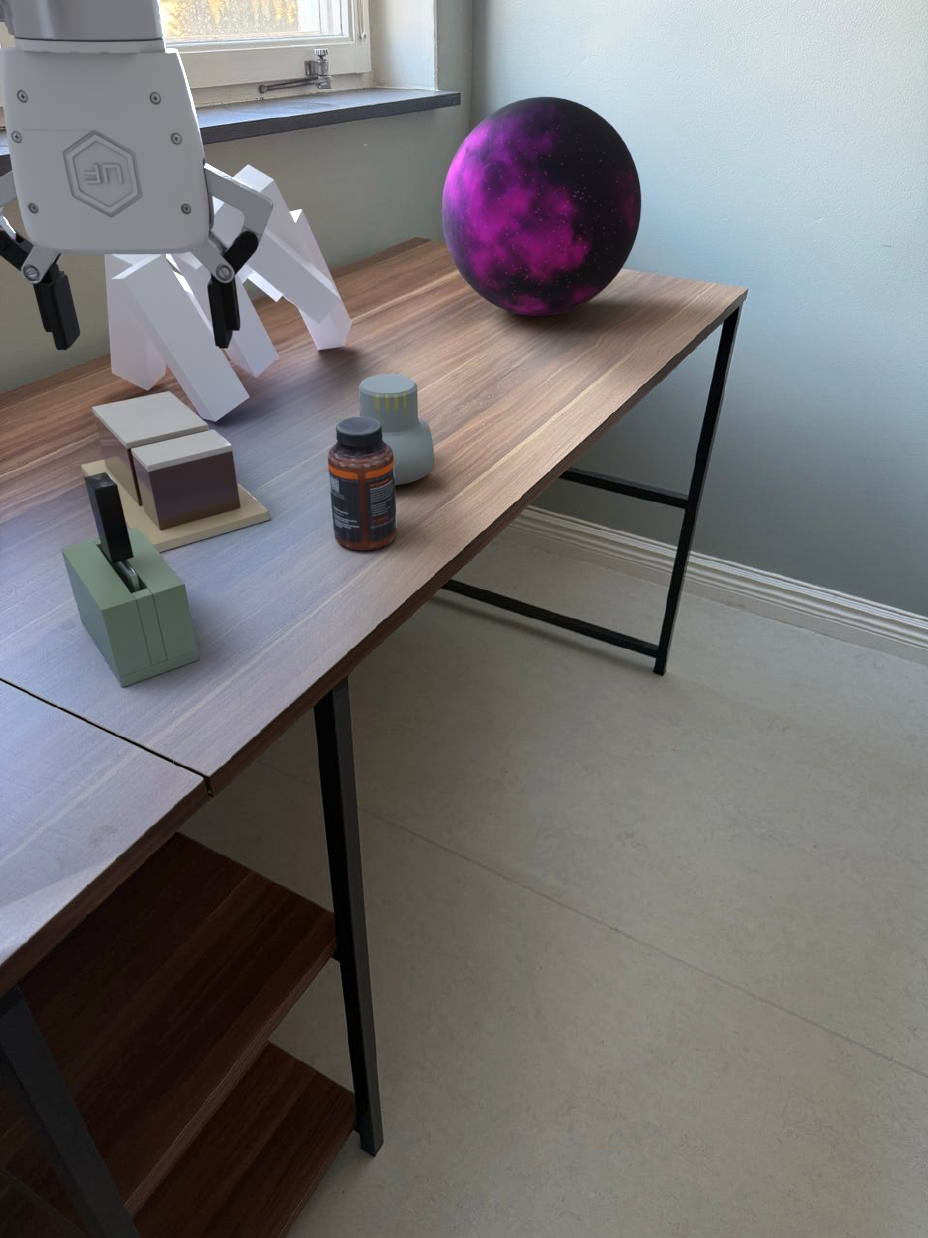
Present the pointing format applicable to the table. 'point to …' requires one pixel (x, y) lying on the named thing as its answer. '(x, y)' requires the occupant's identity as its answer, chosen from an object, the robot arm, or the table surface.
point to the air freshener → (399, 423)
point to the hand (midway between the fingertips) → (147, 342)
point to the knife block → (132, 610)
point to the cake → (171, 471)
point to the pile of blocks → (180, 312)
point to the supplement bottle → (362, 485)
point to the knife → (112, 526)
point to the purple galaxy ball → (541, 206)
